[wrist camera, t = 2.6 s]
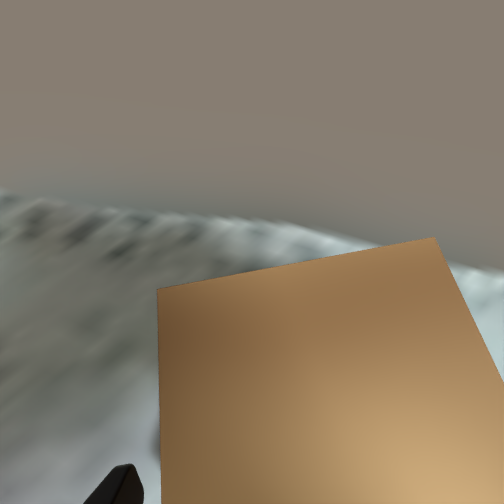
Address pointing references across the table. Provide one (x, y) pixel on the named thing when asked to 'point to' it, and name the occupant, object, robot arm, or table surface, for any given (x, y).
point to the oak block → (329, 386)
